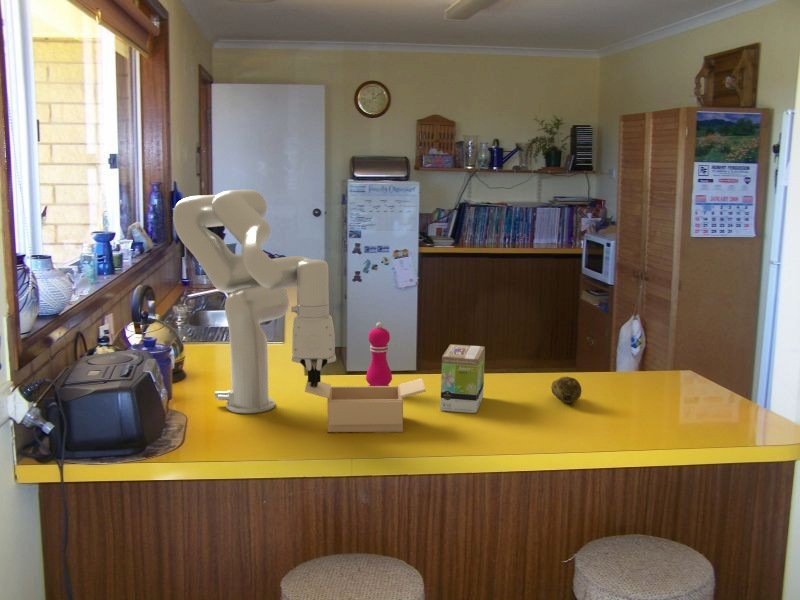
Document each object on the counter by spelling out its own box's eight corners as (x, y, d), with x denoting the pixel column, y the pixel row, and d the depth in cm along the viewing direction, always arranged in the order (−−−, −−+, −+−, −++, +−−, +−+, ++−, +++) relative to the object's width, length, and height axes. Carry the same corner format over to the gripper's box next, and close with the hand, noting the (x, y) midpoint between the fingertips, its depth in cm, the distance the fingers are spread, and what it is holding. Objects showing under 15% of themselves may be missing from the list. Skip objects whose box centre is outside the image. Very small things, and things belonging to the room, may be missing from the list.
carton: (327, 433, 201) (327, 401, 200) (329, 416, 214) (329, 385, 213) (402, 433, 202) (403, 400, 201) (400, 415, 215) (400, 385, 214)
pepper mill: (388, 397, 231) (389, 325, 227) (363, 395, 232) (363, 324, 229) (394, 389, 238) (394, 320, 234) (369, 388, 239) (369, 319, 236)
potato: (582, 397, 232) (583, 369, 230) (580, 411, 220) (581, 381, 218) (551, 395, 234) (552, 367, 232) (547, 408, 222) (549, 379, 220)
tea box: (477, 414, 217) (479, 358, 214) (439, 411, 219) (440, 356, 216) (484, 397, 232) (485, 344, 229) (447, 395, 234) (448, 342, 231)
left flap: (331, 384, 211) (307, 377, 211) (329, 396, 201) (305, 389, 201) (330, 386, 211) (307, 380, 211) (328, 398, 202) (304, 391, 201)
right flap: (400, 395, 202) (425, 389, 202) (399, 384, 212) (422, 377, 212) (401, 398, 202) (425, 391, 202) (399, 386, 212) (422, 380, 212)
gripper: (280, 314, 198) (282, 389, 202) (344, 314, 199) (344, 389, 202) (283, 308, 206) (284, 381, 209) (344, 308, 207) (345, 380, 210)
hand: (314, 384), depth 206 cm, fingers closed
